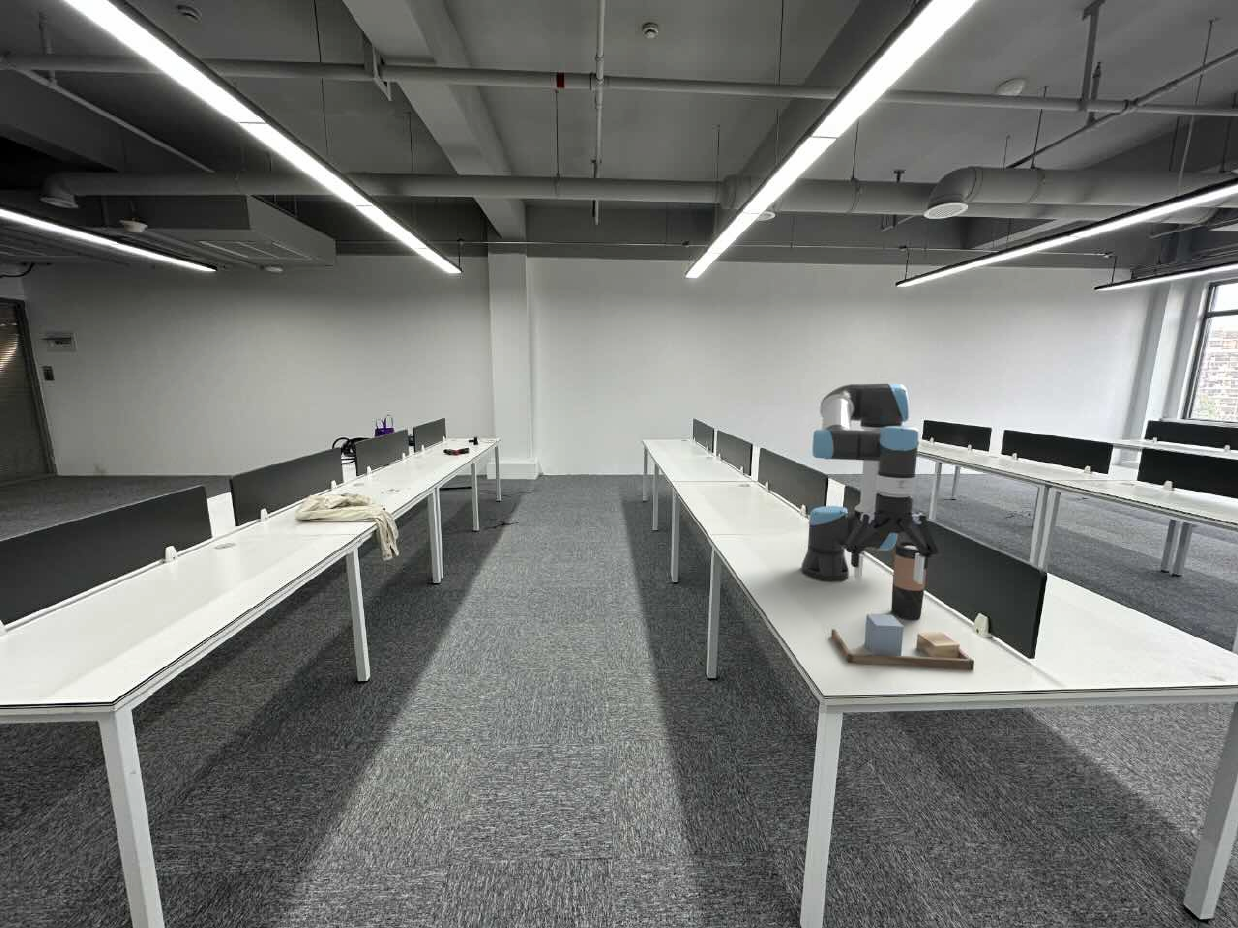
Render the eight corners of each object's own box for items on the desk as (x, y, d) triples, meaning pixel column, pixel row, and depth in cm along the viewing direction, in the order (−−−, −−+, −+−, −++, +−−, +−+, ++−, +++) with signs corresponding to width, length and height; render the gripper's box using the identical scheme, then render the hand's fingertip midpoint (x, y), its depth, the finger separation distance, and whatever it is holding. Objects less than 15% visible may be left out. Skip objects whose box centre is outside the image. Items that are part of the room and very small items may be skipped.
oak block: (916, 648, 119) (917, 633, 118) (938, 647, 119) (940, 631, 119) (934, 661, 113) (935, 645, 112) (958, 660, 113) (959, 644, 113)
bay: (831, 636, 124) (831, 629, 124) (942, 641, 121) (943, 634, 121) (848, 663, 112) (849, 655, 112) (973, 669, 109) (974, 661, 109)
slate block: (864, 643, 121) (866, 613, 119) (889, 645, 120) (892, 614, 119) (874, 656, 115) (876, 625, 113) (900, 658, 114) (903, 626, 113)
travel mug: (926, 621, 132) (932, 551, 129) (895, 619, 133) (901, 549, 130) (915, 609, 139) (921, 542, 136) (886, 607, 141) (891, 541, 138)
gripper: (844, 496, 109) (838, 585, 113) (961, 497, 106) (952, 588, 110) (833, 489, 116) (827, 572, 120) (942, 490, 114) (934, 575, 117)
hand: (887, 580), depth 115 cm, fingers open, 13 cm apart
